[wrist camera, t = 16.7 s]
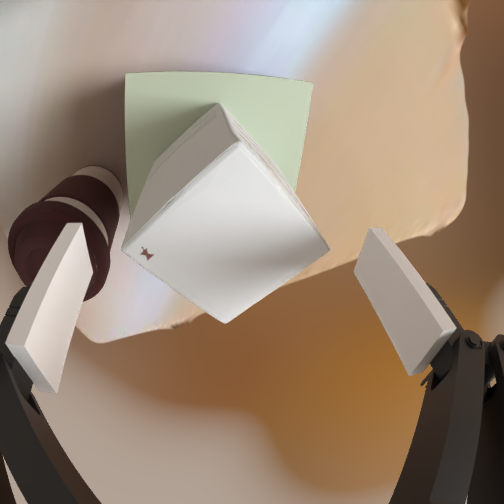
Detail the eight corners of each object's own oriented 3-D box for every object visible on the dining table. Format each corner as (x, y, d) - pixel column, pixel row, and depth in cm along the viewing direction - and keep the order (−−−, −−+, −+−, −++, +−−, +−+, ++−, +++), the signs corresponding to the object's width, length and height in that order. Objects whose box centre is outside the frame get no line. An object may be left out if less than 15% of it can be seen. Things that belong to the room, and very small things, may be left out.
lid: (127, 73, 19) (125, 73, 19) (310, 82, 22) (313, 83, 21) (133, 233, 28) (132, 238, 27) (284, 234, 30) (286, 239, 30)
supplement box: (212, 218, 27) (222, 329, 17) (151, 161, 23) (113, 251, 13) (279, 165, 25) (335, 253, 15) (221, 98, 21) (238, 136, 11)
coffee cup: (54, 215, 33) (2, 295, 21) (68, 143, 29) (-1, 203, 17) (123, 238, 37) (95, 329, 25) (145, 168, 32) (113, 242, 20)
